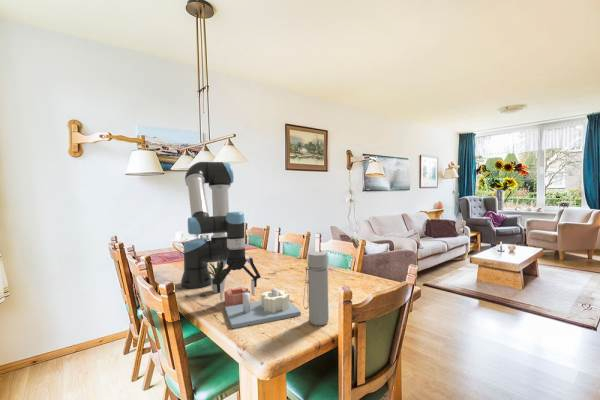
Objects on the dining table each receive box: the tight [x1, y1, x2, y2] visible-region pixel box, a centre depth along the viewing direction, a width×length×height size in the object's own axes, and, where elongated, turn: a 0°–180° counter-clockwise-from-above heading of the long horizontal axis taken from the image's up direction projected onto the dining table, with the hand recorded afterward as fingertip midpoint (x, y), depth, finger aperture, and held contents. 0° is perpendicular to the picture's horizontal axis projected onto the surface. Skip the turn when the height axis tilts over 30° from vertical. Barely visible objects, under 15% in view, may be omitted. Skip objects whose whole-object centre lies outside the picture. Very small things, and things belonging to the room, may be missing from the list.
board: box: [224, 287, 302, 329], centre depth 112 cm, size 17×26×8 cm, turn 113°
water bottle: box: [302, 251, 330, 326], centre depth 103 cm, size 9×8×25 cm
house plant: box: [204, 258, 230, 294], centre depth 137 cm, size 14×14×16 cm
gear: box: [223, 286, 251, 307], centre depth 123 cm, size 10×10×5 cm
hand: (237, 297), depth 123 cm, fingers open, 13 cm apart
